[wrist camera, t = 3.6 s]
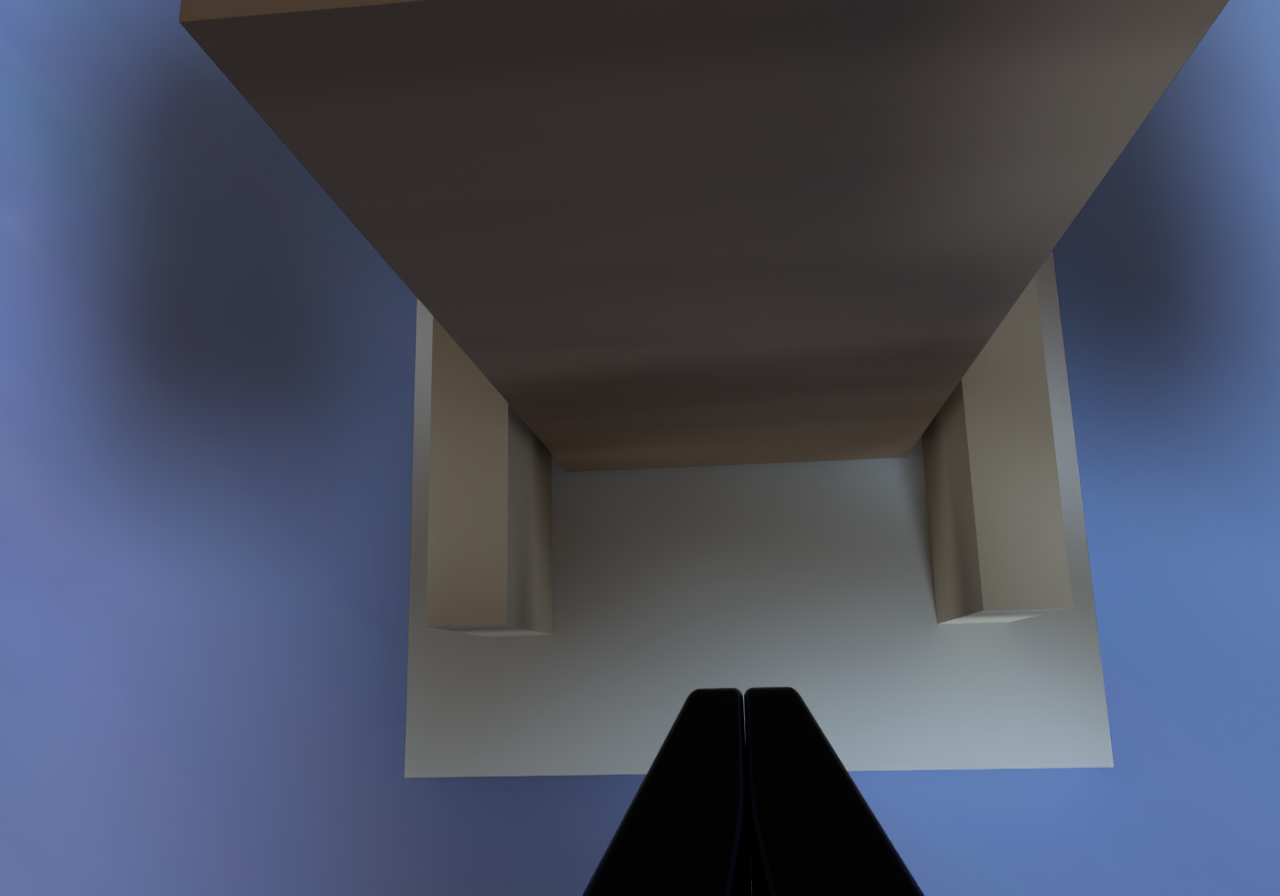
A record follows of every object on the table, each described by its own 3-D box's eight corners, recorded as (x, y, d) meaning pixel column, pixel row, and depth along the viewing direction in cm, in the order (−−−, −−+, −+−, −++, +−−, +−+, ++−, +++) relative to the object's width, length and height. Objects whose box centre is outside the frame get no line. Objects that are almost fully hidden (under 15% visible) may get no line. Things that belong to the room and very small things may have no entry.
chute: (1091, 761, 15) (1207, 789, 11) (425, 771, 16) (322, 800, 12) (975, -253, 19) (1032, -489, 15) (446, -197, 20) (374, -407, 16)
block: (905, 457, 15) (1283, -75, 4) (568, 471, 16) (179, 20, 5) (875, 88, 16) (1111, -998, 6) (564, 112, 17) (253, -855, 6)
